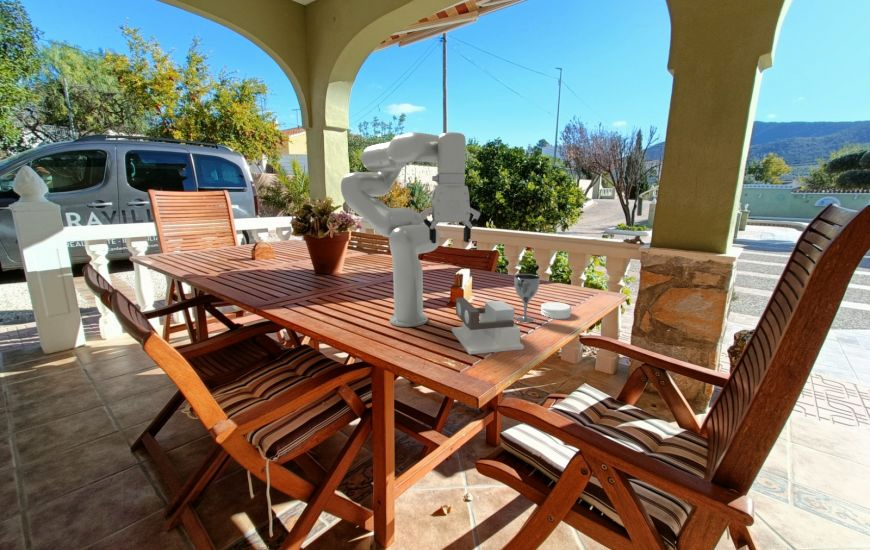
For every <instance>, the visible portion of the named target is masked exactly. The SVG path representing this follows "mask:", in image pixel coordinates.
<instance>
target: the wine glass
mask: <svg viewBox="0 0 870 550" xmlns="http://www.w3.org/2000/svg"><path fill="white" fill-rule="evenodd" d="M540 280H541V279H540V276H539V275H537V274H532V273H518V274H514V288H515V292H516V293H515V294H516V295H518V297H519V299H520V300H521V301H522V304H523V315H522V316H516V317H514V318H515V320H516V321H520V322H533V321H534V319H535V318H533V317H531V316H527V310H528V305H529V303H530V302H531V300H532V299H533V298H534V297H535V296H536V295H537V294H538V291H539V287H540ZM530 317H531V318H530ZM515 320H514V321H515ZM516 321H515V322H516Z"/></svg>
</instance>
